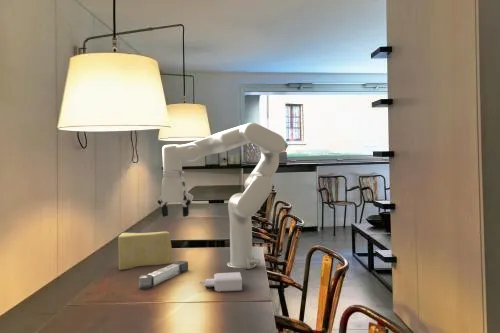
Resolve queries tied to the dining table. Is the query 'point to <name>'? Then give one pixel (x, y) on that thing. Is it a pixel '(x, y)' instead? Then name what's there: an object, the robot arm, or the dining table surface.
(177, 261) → the tongs leg
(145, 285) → the tongs hinge pin
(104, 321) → the dining table surface
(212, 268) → the dining table surface
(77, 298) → the dining table surface
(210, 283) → the charger
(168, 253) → the cheese
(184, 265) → the tongs leg
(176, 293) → the dining table surface
